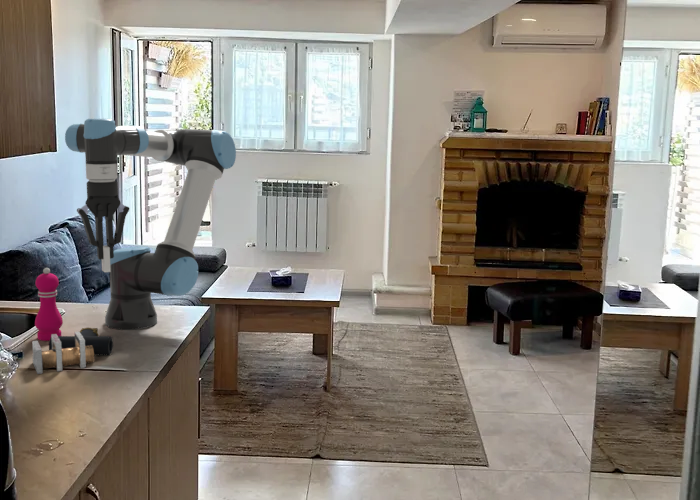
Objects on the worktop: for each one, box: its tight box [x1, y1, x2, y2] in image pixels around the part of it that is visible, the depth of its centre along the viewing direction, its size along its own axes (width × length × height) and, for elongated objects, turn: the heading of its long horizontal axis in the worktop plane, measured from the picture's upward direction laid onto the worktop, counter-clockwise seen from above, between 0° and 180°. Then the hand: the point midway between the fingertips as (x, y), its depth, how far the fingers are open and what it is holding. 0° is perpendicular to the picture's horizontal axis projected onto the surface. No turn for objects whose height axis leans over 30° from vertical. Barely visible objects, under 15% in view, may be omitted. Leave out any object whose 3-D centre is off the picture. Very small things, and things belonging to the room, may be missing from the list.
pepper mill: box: [34, 267, 64, 342], centre depth 206 cm, size 7×7×20 cm
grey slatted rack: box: [31, 331, 87, 375], centre depth 185 cm, size 11×9×7 cm
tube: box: [42, 345, 95, 370], centre depth 186 cm, size 12×4×4 cm, turn 119°
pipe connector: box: [48, 327, 114, 356], centre depth 197 cm, size 12×5×15 cm
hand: (106, 271), depth 192 cm, fingers closed
